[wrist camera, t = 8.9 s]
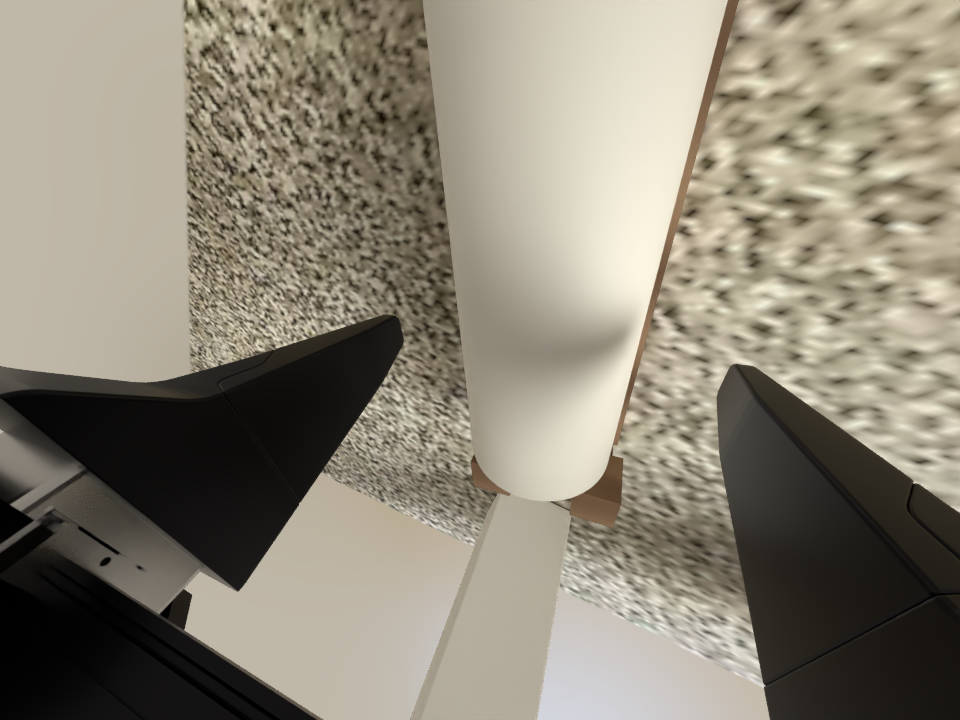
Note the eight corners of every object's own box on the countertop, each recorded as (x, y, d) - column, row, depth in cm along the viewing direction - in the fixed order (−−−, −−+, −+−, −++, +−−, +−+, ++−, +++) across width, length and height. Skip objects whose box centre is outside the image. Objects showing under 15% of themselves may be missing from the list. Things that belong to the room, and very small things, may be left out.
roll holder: (618, 433, 21) (610, 533, 16) (509, 409, 23) (474, 490, 18) (788, -208, 8) (1026, -702, 3) (501, -120, 10) (373, -322, 5)
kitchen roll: (622, 484, 18) (542, 574, 15) (531, 421, 22) (454, 480, 19) (903, -396, 5) (748, -1266, 2) (555, -154, 9) (317, -280, 6)
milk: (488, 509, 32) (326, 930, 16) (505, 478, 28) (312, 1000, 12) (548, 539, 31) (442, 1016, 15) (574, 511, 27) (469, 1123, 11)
